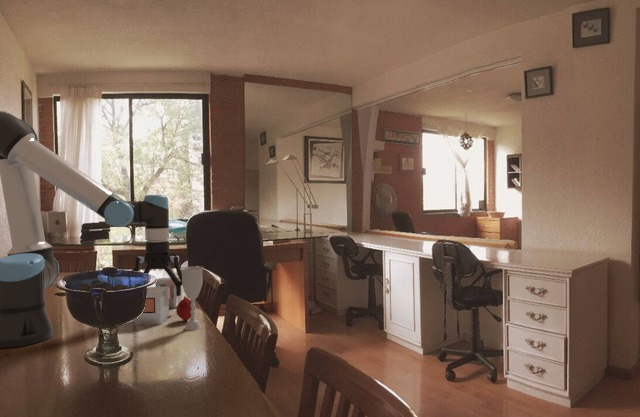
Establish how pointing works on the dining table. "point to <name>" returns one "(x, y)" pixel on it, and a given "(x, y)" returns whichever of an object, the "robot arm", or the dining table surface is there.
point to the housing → (160, 307)
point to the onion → (184, 309)
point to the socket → (169, 283)
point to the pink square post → (152, 303)
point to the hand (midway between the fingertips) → (158, 306)
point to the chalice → (192, 291)
